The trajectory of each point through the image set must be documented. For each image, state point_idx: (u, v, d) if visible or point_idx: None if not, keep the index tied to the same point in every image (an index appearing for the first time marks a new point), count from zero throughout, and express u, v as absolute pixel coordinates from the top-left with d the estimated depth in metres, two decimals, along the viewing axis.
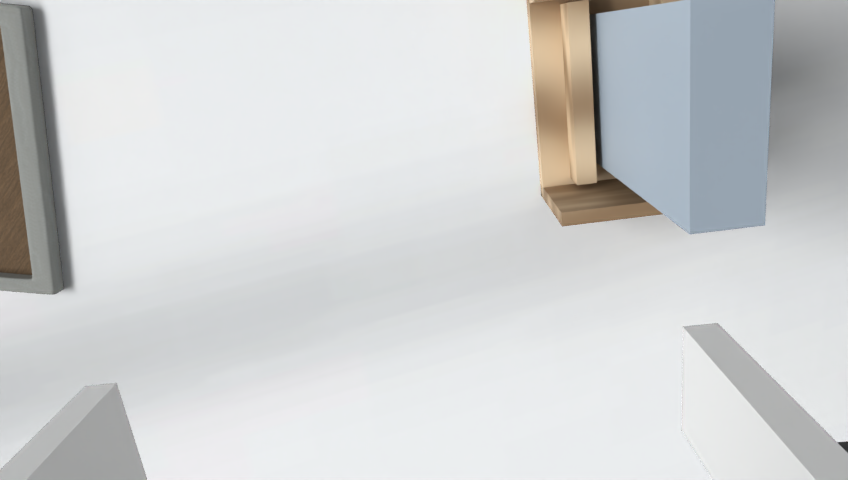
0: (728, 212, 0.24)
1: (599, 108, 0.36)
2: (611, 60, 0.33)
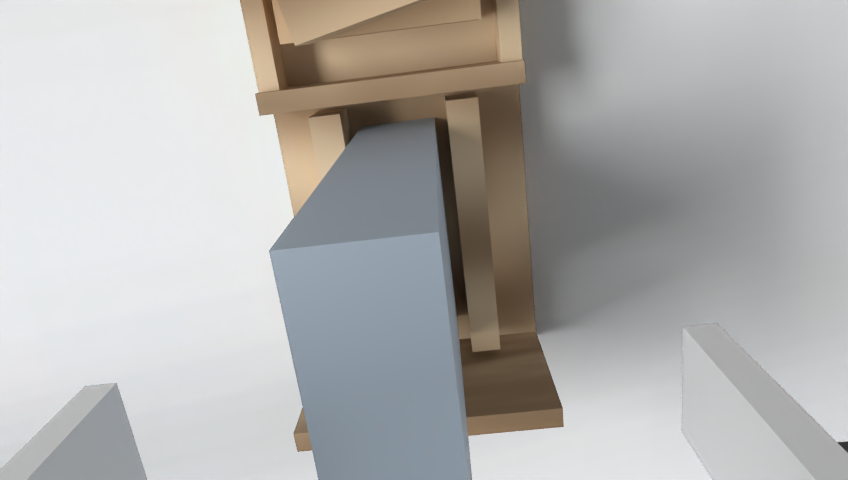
0: None
1: None
2: None
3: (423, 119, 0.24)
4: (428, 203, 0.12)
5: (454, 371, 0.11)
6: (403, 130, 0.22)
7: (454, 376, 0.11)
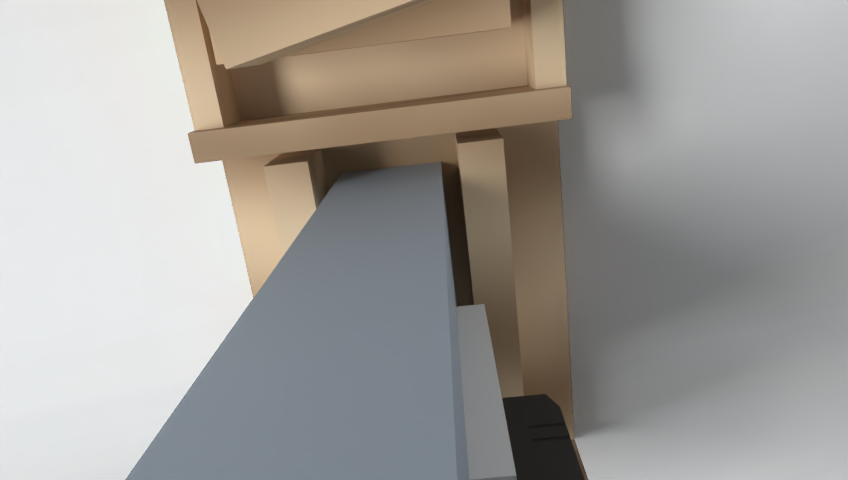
0: None
1: None
2: None
3: (425, 165, 0.18)
4: (434, 429, 0.06)
5: None
6: (397, 185, 0.16)
7: None
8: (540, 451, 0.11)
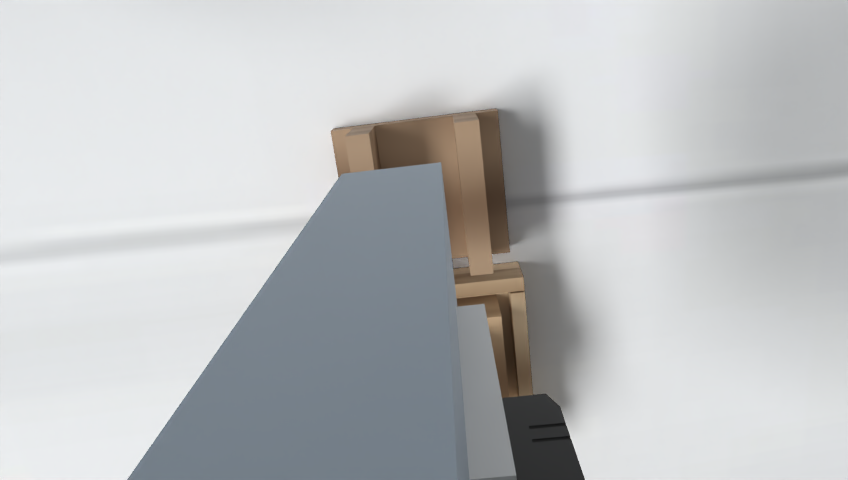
0: None
1: None
2: None
3: (425, 165, 0.18)
4: (434, 432, 0.06)
5: None
6: (397, 186, 0.16)
7: None
8: (540, 451, 0.11)
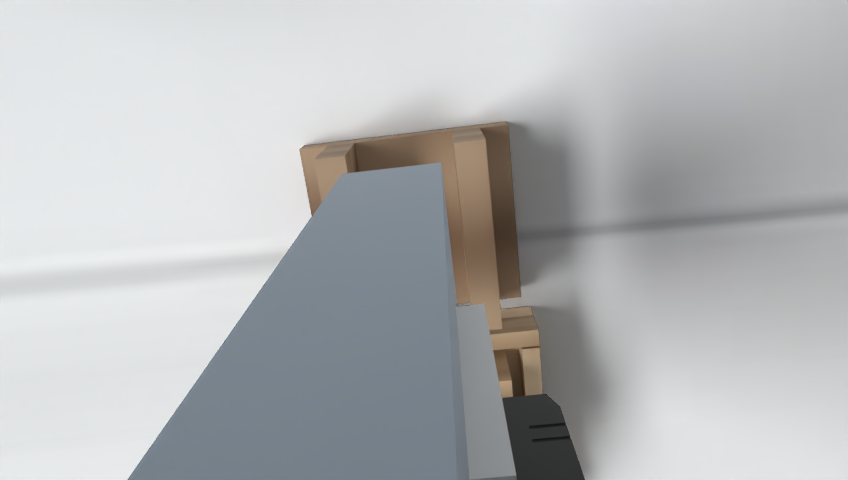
0: None
1: None
2: None
3: (425, 166, 0.18)
4: (434, 433, 0.06)
5: None
6: (397, 186, 0.16)
7: None
8: (540, 450, 0.11)
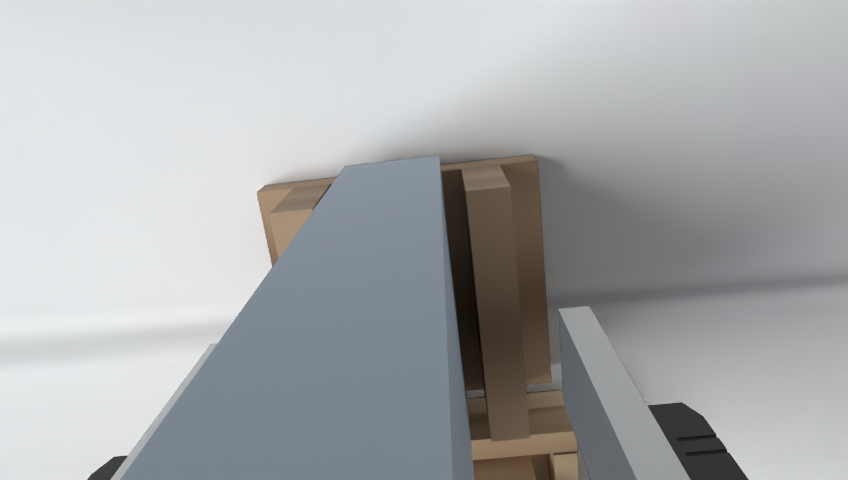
0: None
1: None
2: None
3: (425, 158, 0.19)
4: (430, 372, 0.07)
5: None
6: (397, 176, 0.17)
7: None
8: (699, 465, 0.10)
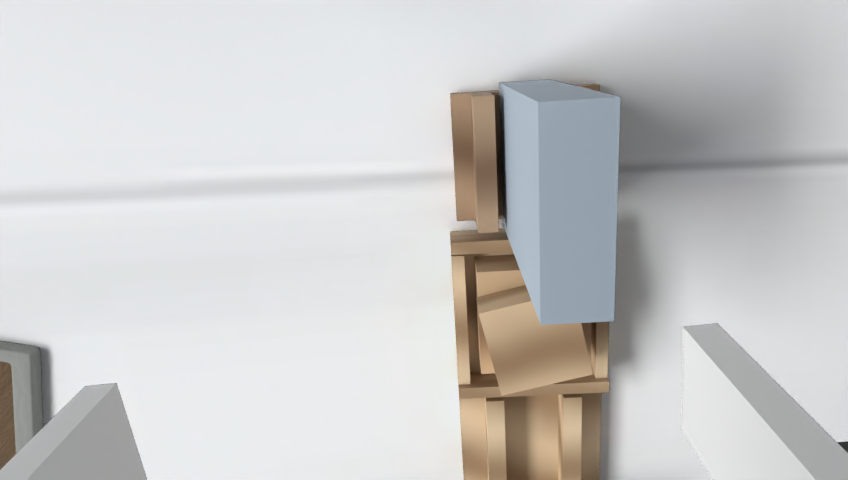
0: (578, 306, 0.25)
1: (503, 174, 0.37)
2: (508, 133, 0.33)
3: None
4: (601, 93, 0.24)
5: (617, 172, 0.23)
6: (536, 82, 0.34)
7: (617, 174, 0.23)
8: None
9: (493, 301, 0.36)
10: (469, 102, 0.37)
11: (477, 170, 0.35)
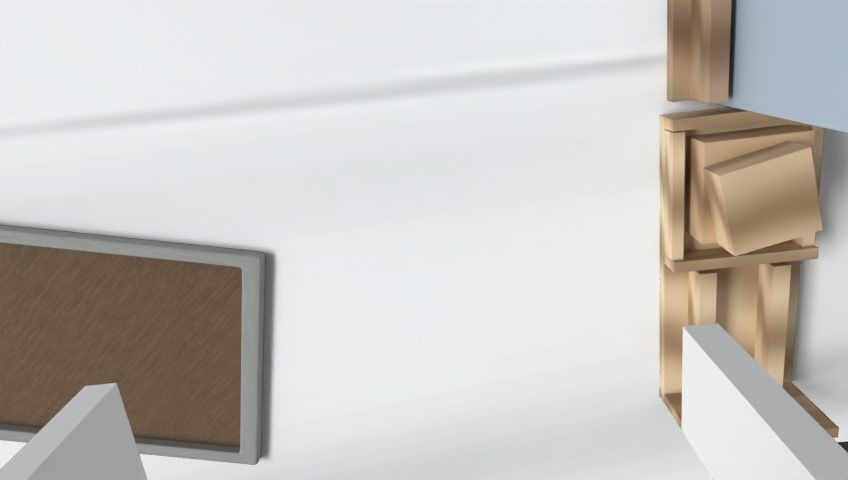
0: None
1: None
2: None
3: None
4: None
5: None
6: None
7: None
8: None
9: (726, 167, 0.39)
10: None
11: (711, 41, 0.38)
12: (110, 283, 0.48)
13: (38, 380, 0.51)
